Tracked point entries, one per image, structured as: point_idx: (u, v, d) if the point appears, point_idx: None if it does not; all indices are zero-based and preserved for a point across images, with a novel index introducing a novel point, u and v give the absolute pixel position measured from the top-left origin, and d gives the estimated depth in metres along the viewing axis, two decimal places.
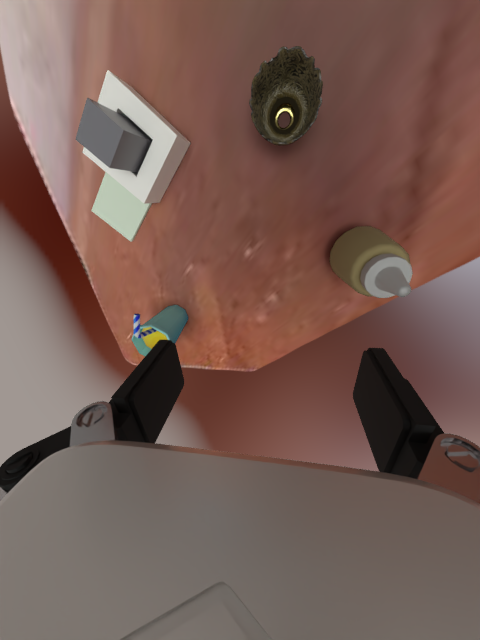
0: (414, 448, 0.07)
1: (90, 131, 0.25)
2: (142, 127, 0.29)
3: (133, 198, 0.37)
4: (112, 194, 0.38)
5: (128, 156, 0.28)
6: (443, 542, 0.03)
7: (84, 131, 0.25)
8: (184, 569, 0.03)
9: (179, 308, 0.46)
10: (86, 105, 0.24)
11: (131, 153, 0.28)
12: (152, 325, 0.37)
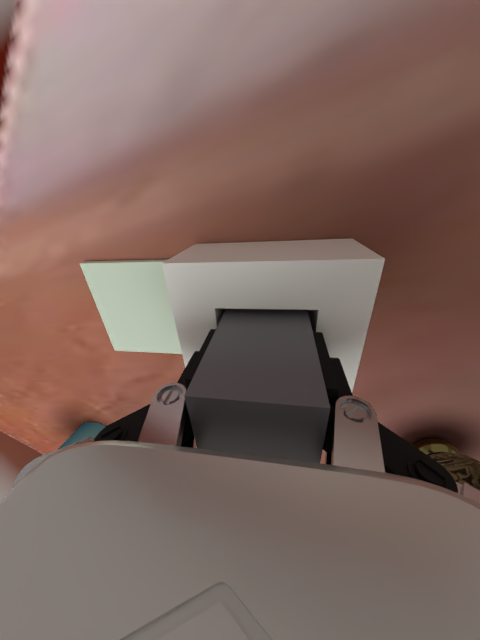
0: None
1: (243, 427, 0.07)
2: None
3: None
4: (147, 290, 0.17)
5: None
6: (443, 542, 0.03)
7: (229, 414, 0.07)
8: (184, 569, 0.03)
9: None
10: (305, 408, 0.07)
11: None
12: None
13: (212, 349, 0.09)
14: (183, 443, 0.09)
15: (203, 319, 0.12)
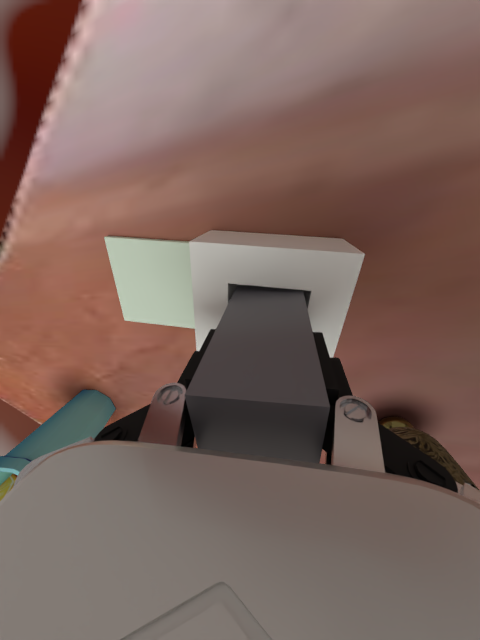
0: None
1: (244, 426, 0.07)
2: None
3: (187, 303, 0.21)
4: (163, 267, 0.19)
5: None
6: (443, 542, 0.03)
7: (229, 413, 0.07)
8: (184, 569, 0.03)
9: (109, 407, 0.30)
10: (304, 407, 0.07)
11: None
12: None
13: (212, 348, 0.09)
14: (183, 442, 0.09)
15: (217, 291, 0.15)
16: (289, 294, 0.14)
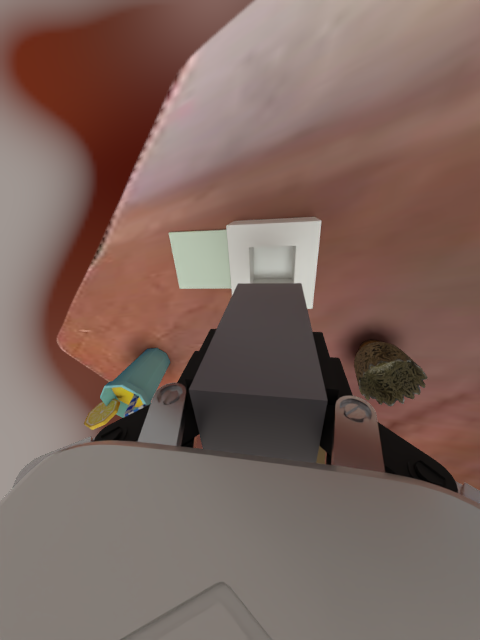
0: None
1: (245, 419, 0.08)
2: (296, 276, 0.26)
3: (221, 270, 0.32)
4: (205, 248, 0.31)
5: None
6: (443, 542, 0.03)
7: (231, 407, 0.08)
8: (184, 569, 0.03)
9: (167, 360, 0.42)
10: (303, 401, 0.07)
11: None
12: (141, 395, 0.33)
13: (214, 345, 0.10)
14: (183, 443, 0.09)
15: (243, 253, 0.26)
16: (288, 292, 0.14)
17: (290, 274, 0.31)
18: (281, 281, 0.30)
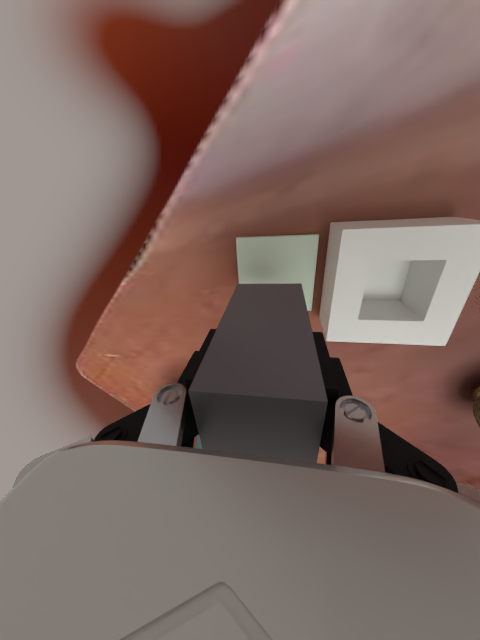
0: None
1: (245, 420, 0.08)
2: (434, 303, 0.18)
3: None
4: (285, 258, 0.23)
5: None
6: (443, 542, 0.03)
7: (231, 408, 0.08)
8: (184, 569, 0.03)
9: None
10: (303, 402, 0.07)
11: None
12: None
13: (214, 346, 0.10)
14: (183, 443, 0.09)
15: (359, 269, 0.18)
16: (288, 292, 0.14)
17: (399, 294, 0.23)
18: (389, 305, 0.22)
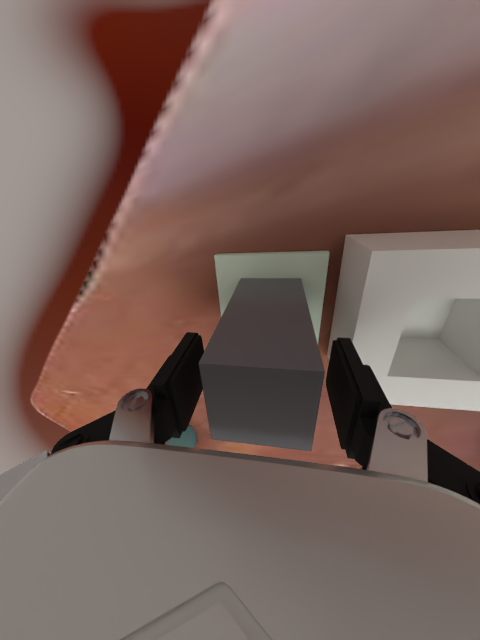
0: (364, 422, 0.08)
1: (249, 392, 0.09)
2: None
3: None
4: None
5: None
6: (443, 542, 0.03)
7: (237, 379, 0.08)
8: (184, 569, 0.03)
9: (193, 438, 0.28)
10: (303, 373, 0.08)
11: None
12: None
13: (220, 328, 0.10)
14: None
15: (395, 309, 0.12)
16: (289, 285, 0.15)
17: (438, 332, 0.17)
18: (426, 348, 0.16)
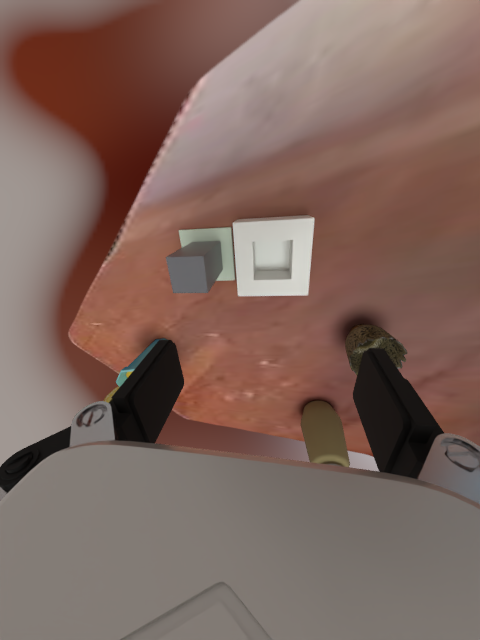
0: (414, 448, 0.07)
1: (183, 267, 0.26)
2: (293, 267, 0.30)
3: (226, 264, 0.36)
4: None
5: None
6: (442, 542, 0.03)
7: (178, 262, 0.26)
8: (184, 569, 0.03)
9: None
10: (197, 257, 0.25)
11: None
12: None
13: (175, 252, 0.28)
14: None
15: (247, 247, 0.30)
16: (212, 242, 0.33)
17: (287, 266, 0.35)
18: (280, 272, 0.34)
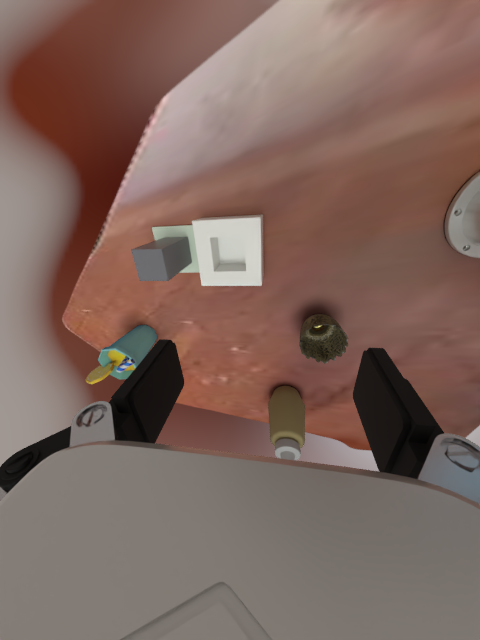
0: (414, 448, 0.07)
1: (146, 258, 0.31)
2: (247, 260, 0.34)
3: (194, 257, 0.40)
4: None
5: None
6: (443, 542, 0.03)
7: (141, 254, 0.31)
8: (184, 569, 0.03)
9: (154, 334, 0.50)
10: (156, 250, 0.30)
11: None
12: (131, 357, 0.41)
13: (142, 245, 0.33)
14: None
15: (206, 242, 0.34)
16: (179, 238, 0.37)
17: None
18: (240, 265, 0.38)
